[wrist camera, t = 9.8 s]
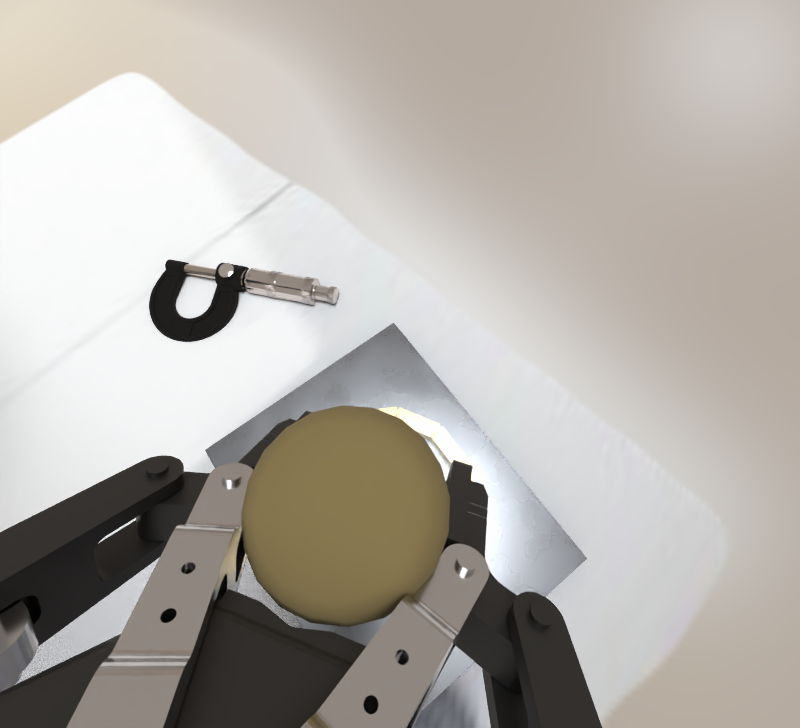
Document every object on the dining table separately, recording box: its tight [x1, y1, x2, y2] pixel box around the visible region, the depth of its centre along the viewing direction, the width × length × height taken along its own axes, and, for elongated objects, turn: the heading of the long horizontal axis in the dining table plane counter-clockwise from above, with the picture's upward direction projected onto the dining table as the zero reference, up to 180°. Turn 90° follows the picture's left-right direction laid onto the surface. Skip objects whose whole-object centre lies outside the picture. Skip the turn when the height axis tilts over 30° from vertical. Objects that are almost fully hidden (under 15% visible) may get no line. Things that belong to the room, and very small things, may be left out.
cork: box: [241, 405, 450, 627], centre depth 13 cm, size 6×6×11 cm
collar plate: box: [205, 323, 587, 710], centre depth 24 cm, size 20×16×2 cm
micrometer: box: [149, 260, 338, 342], centre depth 30 cm, size 15×7×2 cm, turn 78°
